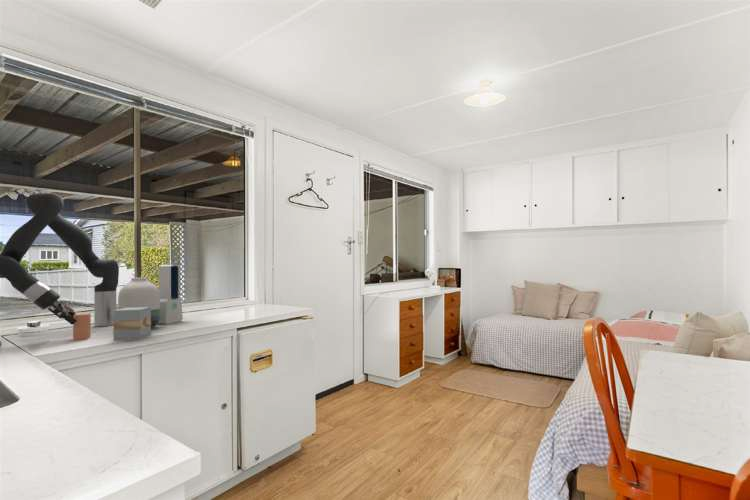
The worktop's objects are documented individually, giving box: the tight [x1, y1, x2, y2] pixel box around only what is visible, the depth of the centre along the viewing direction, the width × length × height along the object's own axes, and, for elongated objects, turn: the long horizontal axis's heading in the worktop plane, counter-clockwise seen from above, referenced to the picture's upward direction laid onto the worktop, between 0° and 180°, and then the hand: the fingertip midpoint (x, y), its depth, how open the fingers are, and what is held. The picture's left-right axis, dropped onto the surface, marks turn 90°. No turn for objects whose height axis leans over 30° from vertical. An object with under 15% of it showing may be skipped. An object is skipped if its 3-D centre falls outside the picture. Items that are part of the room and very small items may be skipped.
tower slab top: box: [114, 307, 151, 320], centre depth 162 cm, size 10×10×4 cm
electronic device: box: [157, 264, 184, 325], centre depth 200 cm, size 12×8×30 cm, turn 168°
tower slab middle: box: [113, 316, 151, 331], centre depth 162 cm, size 10×10×4 cm
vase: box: [117, 277, 160, 329], centre depth 183 cm, size 17×17×24 cm
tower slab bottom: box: [113, 326, 152, 341], centre depth 162 cm, size 10×10×4 cm
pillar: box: [72, 312, 92, 341], centre depth 160 cm, size 5×5×10 cm
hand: (77, 321), depth 160 cm, fingers open, 8 cm apart
